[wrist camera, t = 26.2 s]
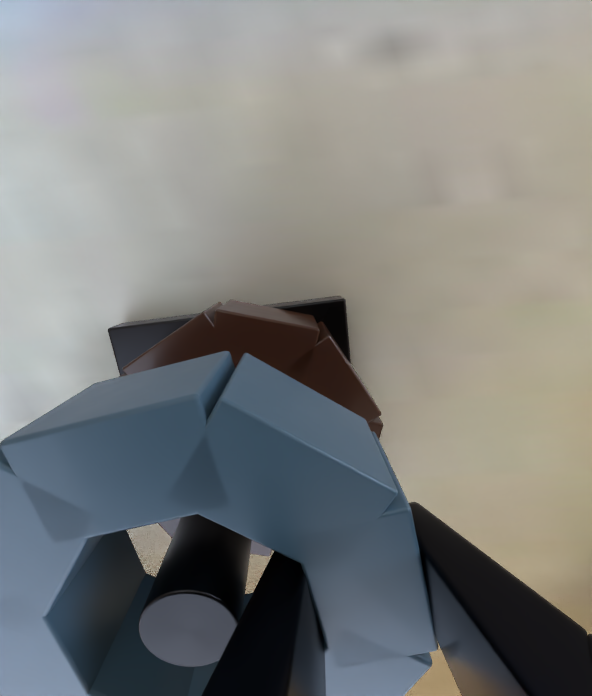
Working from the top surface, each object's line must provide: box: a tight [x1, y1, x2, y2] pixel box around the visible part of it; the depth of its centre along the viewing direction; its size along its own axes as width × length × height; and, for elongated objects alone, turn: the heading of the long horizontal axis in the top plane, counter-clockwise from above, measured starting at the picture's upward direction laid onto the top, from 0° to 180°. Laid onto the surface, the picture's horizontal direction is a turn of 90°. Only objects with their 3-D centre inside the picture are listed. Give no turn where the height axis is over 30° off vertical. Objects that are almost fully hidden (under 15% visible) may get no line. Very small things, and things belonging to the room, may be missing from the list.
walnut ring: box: [119, 300, 383, 556], centre depth 12 cm, size 9×9×3 cm
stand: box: [108, 296, 351, 667], centre depth 10 cm, size 9×9×9 cm
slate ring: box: [0, 351, 438, 696], centre depth 7 cm, size 9×9×3 cm
